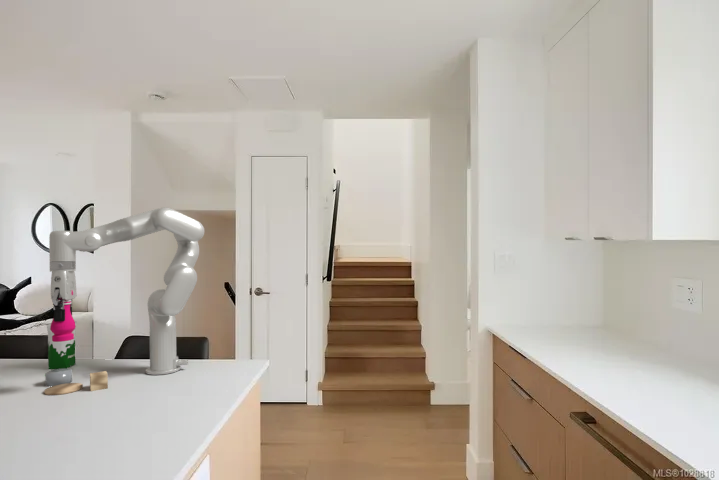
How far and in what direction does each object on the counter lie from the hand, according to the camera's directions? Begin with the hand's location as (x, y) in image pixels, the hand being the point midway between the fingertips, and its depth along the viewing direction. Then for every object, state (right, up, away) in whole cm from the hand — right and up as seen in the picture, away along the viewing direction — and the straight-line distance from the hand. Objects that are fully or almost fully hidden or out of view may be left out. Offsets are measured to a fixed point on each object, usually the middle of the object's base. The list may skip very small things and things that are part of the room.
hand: (63, 319), depth 156 cm
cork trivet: (0, -24, 0) cm, 24 cm away
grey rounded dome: (-7, -24, +8) cm, 26 cm away
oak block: (+11, -24, +1) cm, 27 cm away
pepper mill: (0, -7, 0) cm, 7 cm away
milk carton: (-21, -25, +31) cm, 45 cm away
